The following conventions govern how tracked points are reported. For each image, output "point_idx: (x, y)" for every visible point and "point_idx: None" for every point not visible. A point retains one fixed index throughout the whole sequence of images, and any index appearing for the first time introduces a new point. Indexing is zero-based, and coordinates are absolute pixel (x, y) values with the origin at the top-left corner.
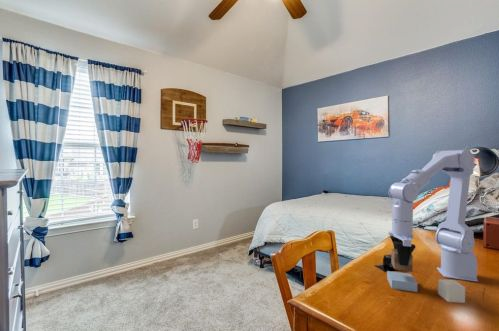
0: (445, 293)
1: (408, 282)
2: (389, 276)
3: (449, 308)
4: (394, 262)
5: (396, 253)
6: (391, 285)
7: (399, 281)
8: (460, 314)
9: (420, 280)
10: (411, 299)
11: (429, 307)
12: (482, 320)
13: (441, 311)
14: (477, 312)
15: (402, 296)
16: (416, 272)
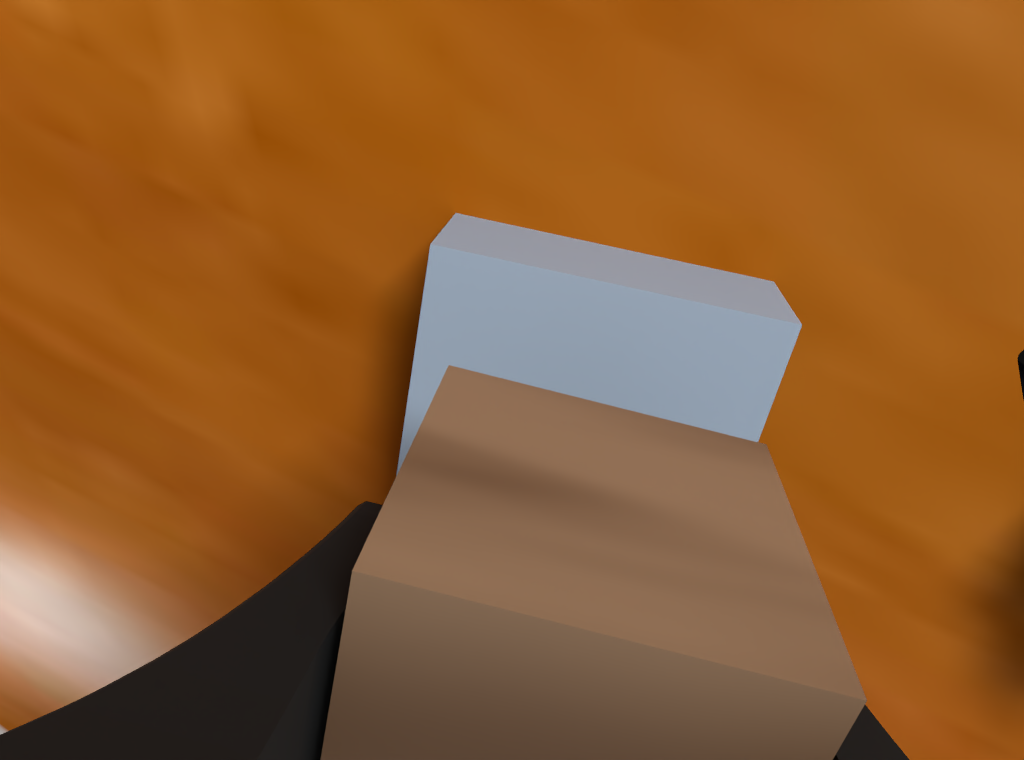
0: None
1: (400, 451)
2: (612, 278)
3: (135, 586)
4: (421, 433)
5: (374, 627)
6: (467, 224)
7: (419, 346)
8: (59, 609)
9: None
10: (207, 329)
11: (88, 426)
12: (27, 697)
13: (50, 492)
14: None
15: (254, 256)
16: (958, 733)
